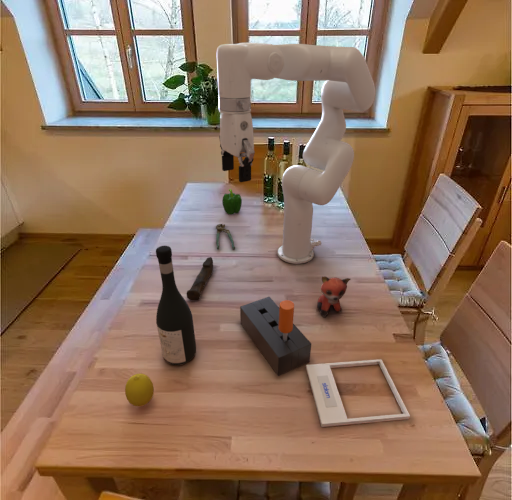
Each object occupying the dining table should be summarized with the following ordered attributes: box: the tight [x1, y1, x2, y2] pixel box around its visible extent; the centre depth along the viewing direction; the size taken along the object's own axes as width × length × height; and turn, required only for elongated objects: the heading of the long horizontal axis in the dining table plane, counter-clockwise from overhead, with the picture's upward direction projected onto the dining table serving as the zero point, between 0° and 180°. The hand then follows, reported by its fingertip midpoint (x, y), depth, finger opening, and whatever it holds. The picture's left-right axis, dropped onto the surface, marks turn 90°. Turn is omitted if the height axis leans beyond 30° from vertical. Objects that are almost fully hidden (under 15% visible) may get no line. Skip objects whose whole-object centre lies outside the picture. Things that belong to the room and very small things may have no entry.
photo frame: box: [305, 358, 411, 428], centre depth 76 cm, size 15×1×18 cm
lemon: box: [124, 373, 155, 407], centre depth 73 cm, size 6×6×8 cm
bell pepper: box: [221, 188, 243, 216], centre depth 152 cm, size 8×8×10 cm
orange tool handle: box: [279, 299, 295, 342], centre depth 81 cm, size 3×3×16 cm
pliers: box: [215, 223, 236, 251], centre depth 135 cm, size 20×6×1 cm, turn 9°
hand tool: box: [186, 256, 214, 302], centre depth 109 cm, size 19×4×5 cm, turn 167°
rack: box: [239, 296, 312, 377], centre depth 88 cm, size 9×19×6 cm, turn 28°
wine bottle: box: [155, 245, 197, 366], centre depth 78 cm, size 8×8×30 cm
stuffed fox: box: [316, 275, 351, 318], centre depth 98 cm, size 8×11×12 cm
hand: (236, 175), depth 92 cm, fingers open, 9 cm apart
